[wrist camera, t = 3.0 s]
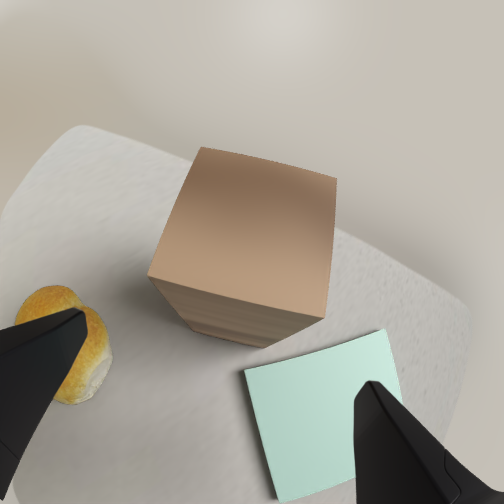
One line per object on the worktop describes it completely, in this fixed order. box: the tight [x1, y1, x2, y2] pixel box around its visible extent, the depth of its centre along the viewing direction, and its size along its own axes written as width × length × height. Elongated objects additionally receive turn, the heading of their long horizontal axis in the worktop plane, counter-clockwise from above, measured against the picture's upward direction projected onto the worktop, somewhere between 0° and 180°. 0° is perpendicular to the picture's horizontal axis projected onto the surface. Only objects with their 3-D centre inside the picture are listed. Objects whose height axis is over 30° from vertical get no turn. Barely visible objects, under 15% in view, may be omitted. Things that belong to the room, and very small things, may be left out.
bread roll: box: [15, 286, 113, 405], centre depth 15 cm, size 8×9×4 cm
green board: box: [244, 329, 403, 503], centre depth 16 cm, size 11×11×1 cm
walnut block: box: [147, 147, 337, 348], centre depth 14 cm, size 5×5×12 cm
